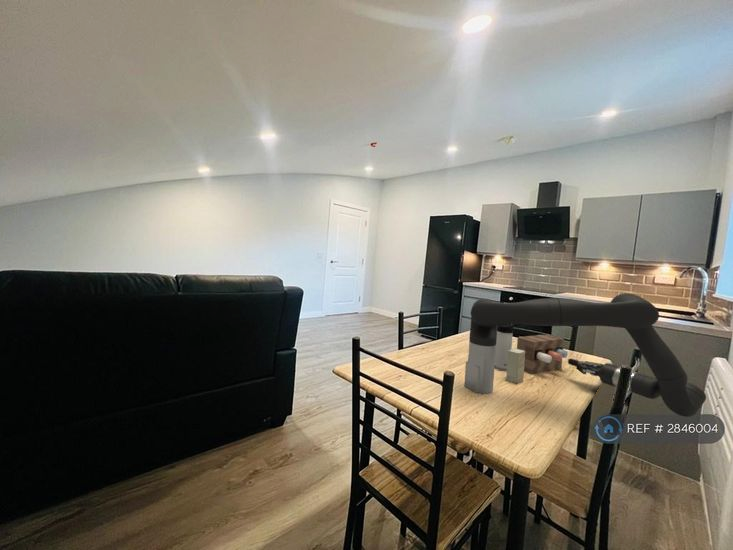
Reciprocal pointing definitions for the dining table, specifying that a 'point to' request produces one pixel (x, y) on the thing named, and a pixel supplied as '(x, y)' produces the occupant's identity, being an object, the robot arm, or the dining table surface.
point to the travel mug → (503, 346)
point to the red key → (555, 355)
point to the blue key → (562, 352)
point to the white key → (544, 357)
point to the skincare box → (515, 365)
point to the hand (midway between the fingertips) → (569, 361)
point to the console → (539, 345)
